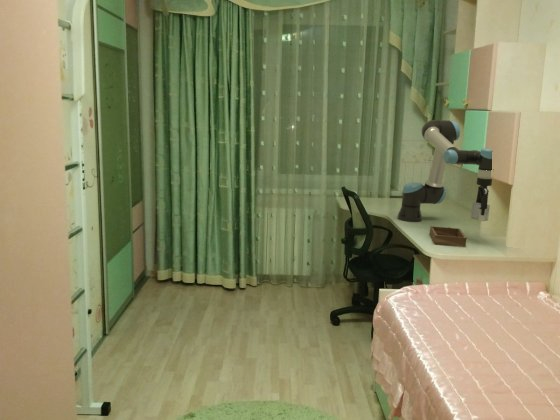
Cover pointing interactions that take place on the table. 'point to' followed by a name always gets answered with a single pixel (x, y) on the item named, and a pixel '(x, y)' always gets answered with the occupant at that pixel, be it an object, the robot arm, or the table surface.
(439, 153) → the robot arm
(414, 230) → the table surface
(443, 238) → the walnut box
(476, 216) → the medicine box
